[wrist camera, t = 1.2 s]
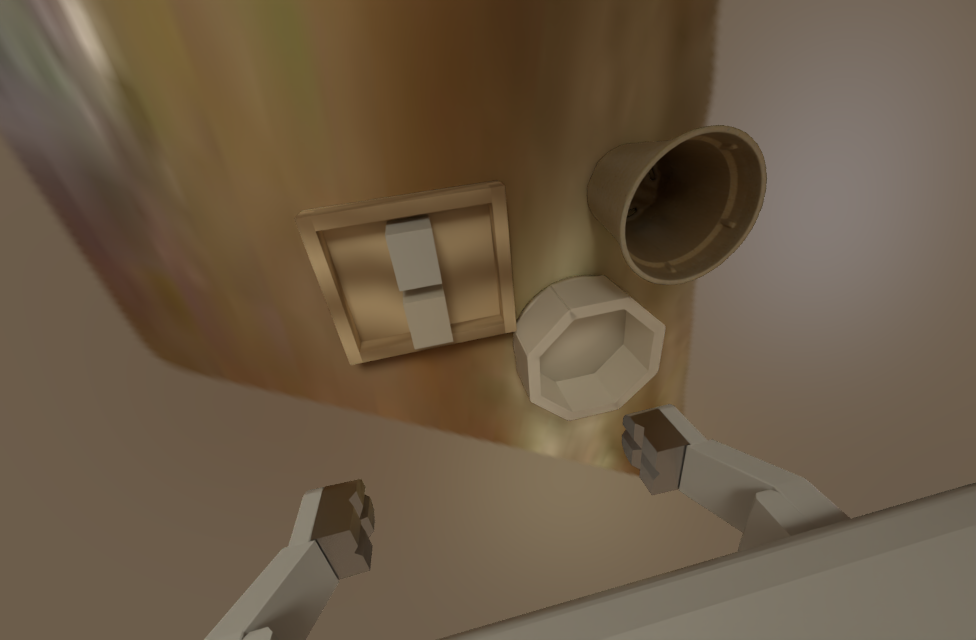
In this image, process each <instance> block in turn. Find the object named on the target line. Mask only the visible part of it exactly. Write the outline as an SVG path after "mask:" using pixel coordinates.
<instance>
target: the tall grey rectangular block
mask: <svg viewBox="0 0 976 640" xmlns="http://www.w3.org/2000/svg"><path fill="white" fill-rule="evenodd" d="M385 238H386V242H387V245H388V249H389V253H390V257H391V261H392V265H393V268H394V272H395V276H396V280H397V284H398V287H399V291H405V290H410V289H416V288H421V287H426V286H432V285H437V284H442V280H441V274H440V269H439V264H438V259H437V254H436V248H435V243H434V238H433V233H432V228H431V224H430V220H429V215H422V216H416V217H410V218H403V219H397V220H391V221H387V224H386V231H385Z"/></svg>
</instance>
